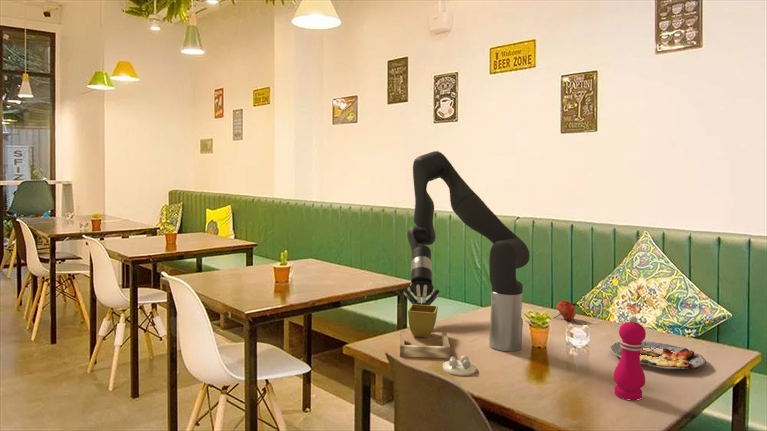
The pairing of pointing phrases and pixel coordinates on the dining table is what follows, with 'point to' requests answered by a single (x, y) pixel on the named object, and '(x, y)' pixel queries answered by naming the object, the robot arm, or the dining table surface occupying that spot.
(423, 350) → the beech tray
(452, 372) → the pebble dish
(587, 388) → the dining table surface
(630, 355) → the pepper mill
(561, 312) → the pomegranate
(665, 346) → the food plate
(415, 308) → the flower pot
